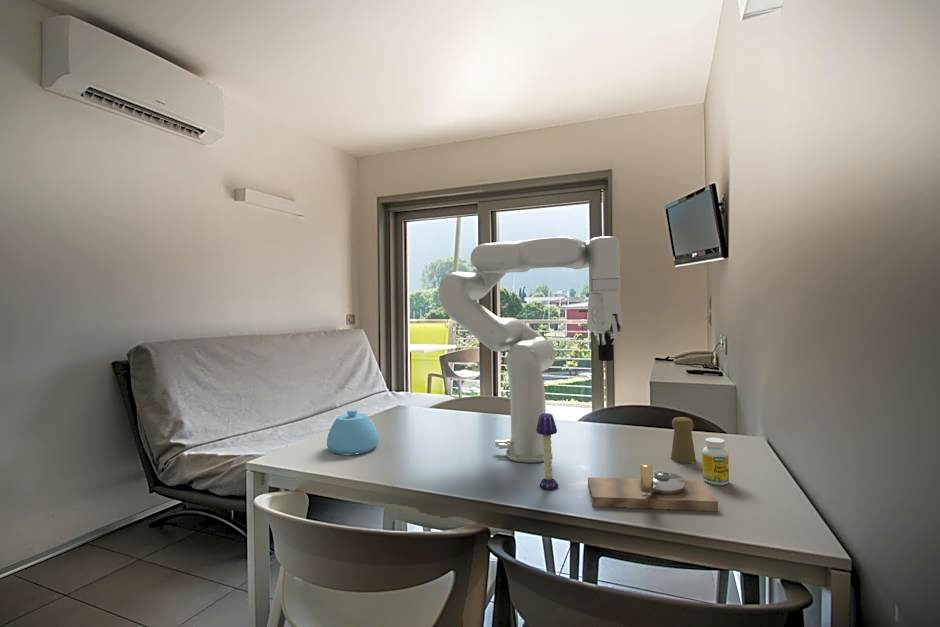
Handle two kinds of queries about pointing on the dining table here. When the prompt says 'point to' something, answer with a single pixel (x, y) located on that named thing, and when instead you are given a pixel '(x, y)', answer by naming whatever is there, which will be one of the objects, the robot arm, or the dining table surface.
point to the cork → (683, 440)
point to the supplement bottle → (715, 462)
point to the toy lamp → (547, 449)
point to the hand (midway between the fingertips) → (606, 360)
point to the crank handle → (659, 481)
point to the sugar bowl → (352, 434)
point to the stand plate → (631, 496)
